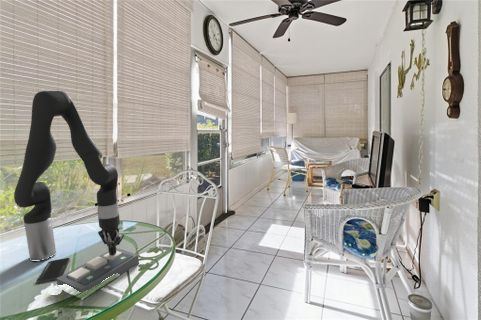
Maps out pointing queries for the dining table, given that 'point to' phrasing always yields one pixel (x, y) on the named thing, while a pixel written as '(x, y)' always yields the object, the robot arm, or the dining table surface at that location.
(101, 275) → the keypad
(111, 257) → the key
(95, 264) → the key
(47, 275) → the phone
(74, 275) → the key
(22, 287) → the dining table surface
